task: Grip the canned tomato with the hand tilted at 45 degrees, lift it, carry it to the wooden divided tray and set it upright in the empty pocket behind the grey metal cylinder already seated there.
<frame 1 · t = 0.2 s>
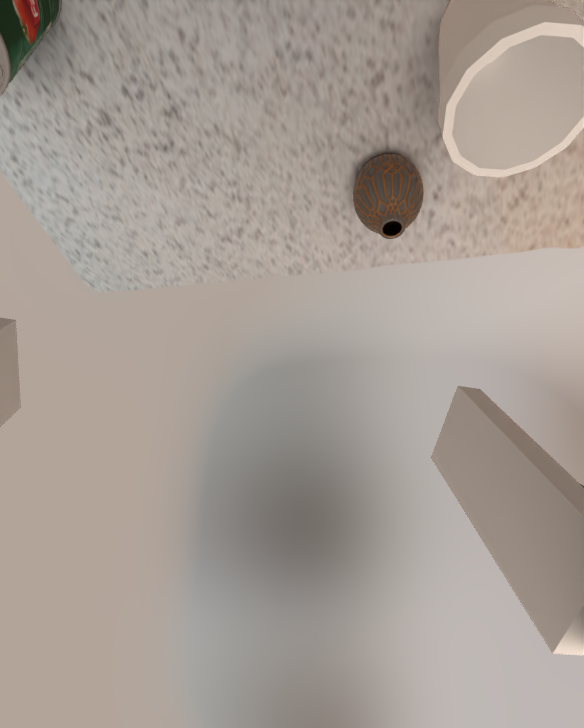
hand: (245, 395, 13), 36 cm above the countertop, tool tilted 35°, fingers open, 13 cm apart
foam cup: (479, 22, 34), on the countertop
vase: (384, 172, 46), on the countertop
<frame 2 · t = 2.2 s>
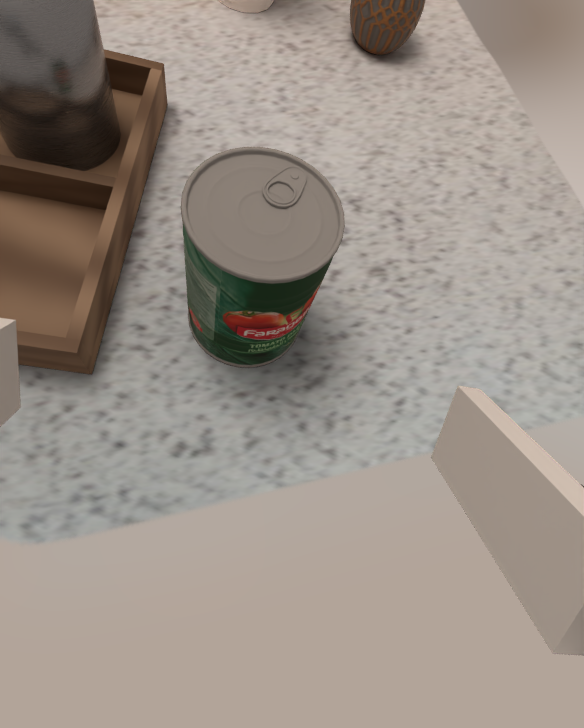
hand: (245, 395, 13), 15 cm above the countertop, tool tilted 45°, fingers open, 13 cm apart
wooden divided tray: (44, 202, 31), on the countertop
seated cylinder: (67, 142, 33), resting on wooden divided tray
vase: (373, 43, 45), on the countertop
canned tomato: (245, 317, 31), on the countertop
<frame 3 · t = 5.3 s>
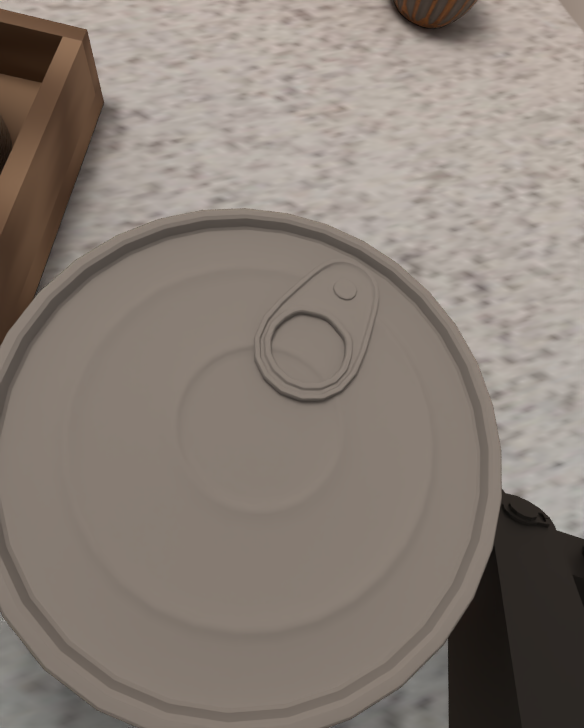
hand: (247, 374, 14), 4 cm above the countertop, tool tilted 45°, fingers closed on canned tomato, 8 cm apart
vase: (420, 13, 31), on the countertop
canned tomato: (227, 490, 17), on the countertop, touching gripper
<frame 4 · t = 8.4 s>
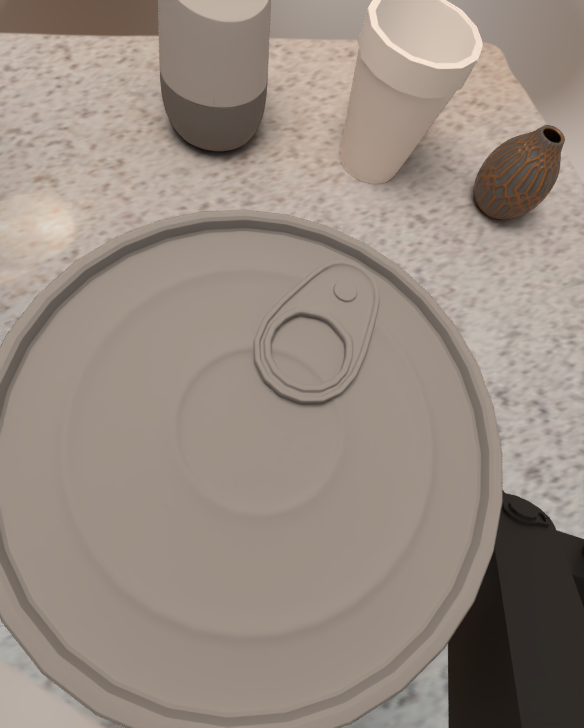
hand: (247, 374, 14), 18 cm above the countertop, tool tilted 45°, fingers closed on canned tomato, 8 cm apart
foam cup: (367, 161, 45), on the countertop
vase: (491, 205, 46), on the countertop
smart speaker: (213, 128, 43), on the countertop
canned tomato: (227, 491, 17), point 15 cm above the countertop, touching gripper
when the fingers open (6 cm above the countertop, at t = 11.7 s): canned tomato drops 1 cm, resting on wooden divided tray.
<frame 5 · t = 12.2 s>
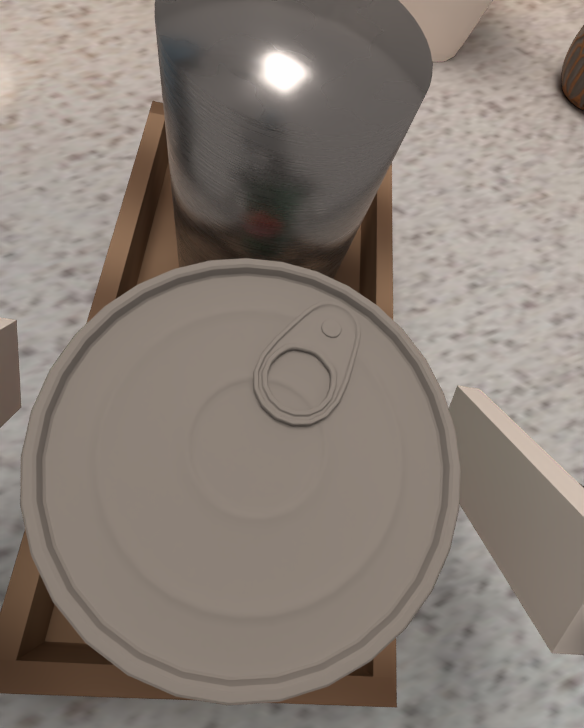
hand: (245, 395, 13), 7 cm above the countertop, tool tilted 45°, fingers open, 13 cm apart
foam cup: (420, 36, 34), on the countertop
wooden divided tray: (242, 369, 21), on the countertop
seated cylinder: (255, 268, 23), resting on wooden divided tray
vase: (582, 98, 35), on the countertop
canned tomato: (228, 495, 18), point 1 cm above the countertop, touching wooden divided tray
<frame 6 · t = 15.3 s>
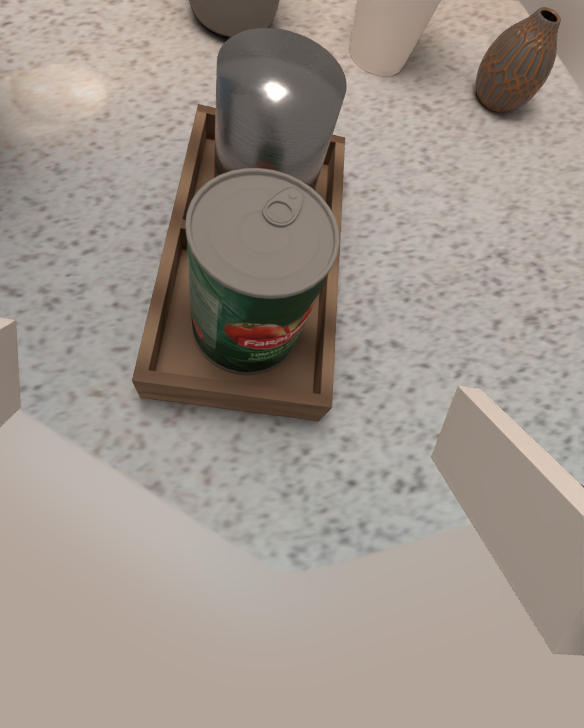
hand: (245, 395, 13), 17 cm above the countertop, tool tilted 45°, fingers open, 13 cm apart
foam cup: (376, 58, 48), on the countertop
wooden divided tray: (252, 265, 35), on the countertop
seated cylinder: (260, 208, 37), resting on wooden divided tray
vase: (492, 101, 49), on the countertop
smart speaker: (231, 21, 46), on the countertop
canned tomato: (245, 325, 32), point 1 cm above the countertop, touching wooden divided tray
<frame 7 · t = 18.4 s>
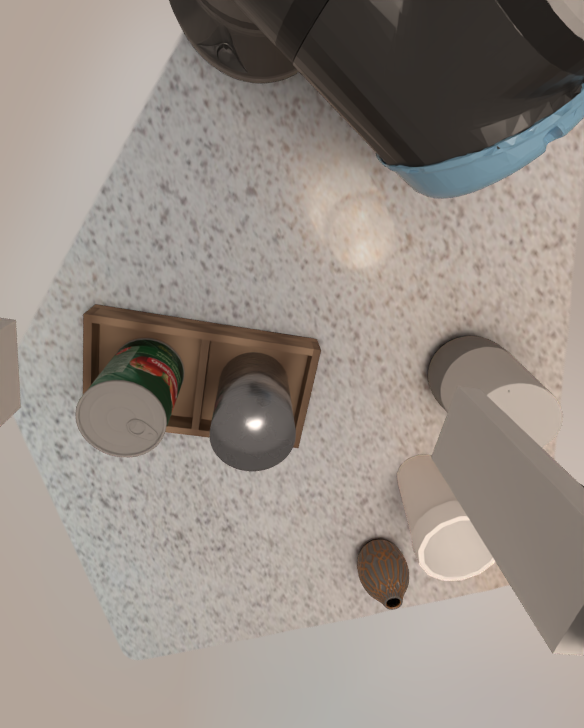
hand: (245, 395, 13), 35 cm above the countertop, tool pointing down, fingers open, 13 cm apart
foam cup: (419, 472, 59), on the countertop
wooden divided tray: (203, 373, 50), on the countertop
seated cylinder: (254, 380, 51), resting on wooden divided tray
vase: (376, 548, 64), on the countertop
smart speaker: (458, 365, 53), on the countertop
canned tomato: (149, 369, 49), point 1 cm above the countertop, touching wooden divided tray
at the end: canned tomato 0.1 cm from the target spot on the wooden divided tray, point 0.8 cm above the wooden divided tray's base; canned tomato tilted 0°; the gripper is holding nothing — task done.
